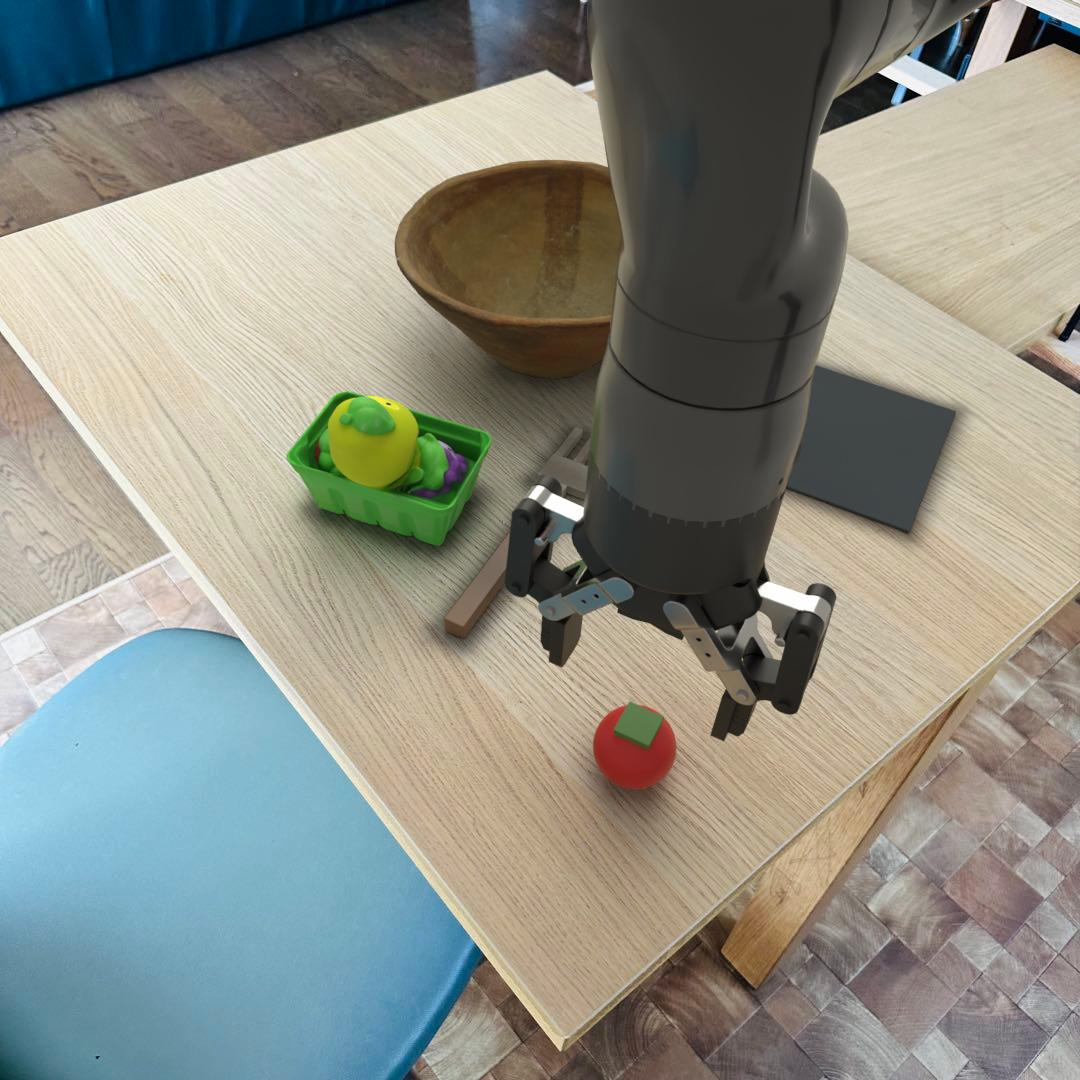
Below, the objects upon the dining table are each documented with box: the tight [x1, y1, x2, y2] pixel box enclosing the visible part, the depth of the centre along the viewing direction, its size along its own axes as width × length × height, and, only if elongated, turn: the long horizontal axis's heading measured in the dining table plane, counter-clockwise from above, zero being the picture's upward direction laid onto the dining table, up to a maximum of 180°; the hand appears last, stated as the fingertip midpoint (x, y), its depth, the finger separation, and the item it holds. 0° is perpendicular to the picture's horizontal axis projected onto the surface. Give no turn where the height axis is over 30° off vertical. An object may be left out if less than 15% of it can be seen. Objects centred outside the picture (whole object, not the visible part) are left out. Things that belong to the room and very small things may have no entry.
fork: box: [443, 426, 591, 640], centre depth 67 cm, size 20×4×1 cm, turn 152°
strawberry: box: [592, 701, 678, 791], centre depth 54 cm, size 4×4×4 cm
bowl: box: [394, 159, 621, 379], centre depth 77 cm, size 22×23×10 cm
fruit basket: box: [285, 391, 493, 547], centre depth 64 cm, size 11×9×11 cm
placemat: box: [786, 364, 957, 534], centre depth 75 cm, size 16×14×1 cm
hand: (642, 688), depth 50 cm, fingers open, 8 cm apart
